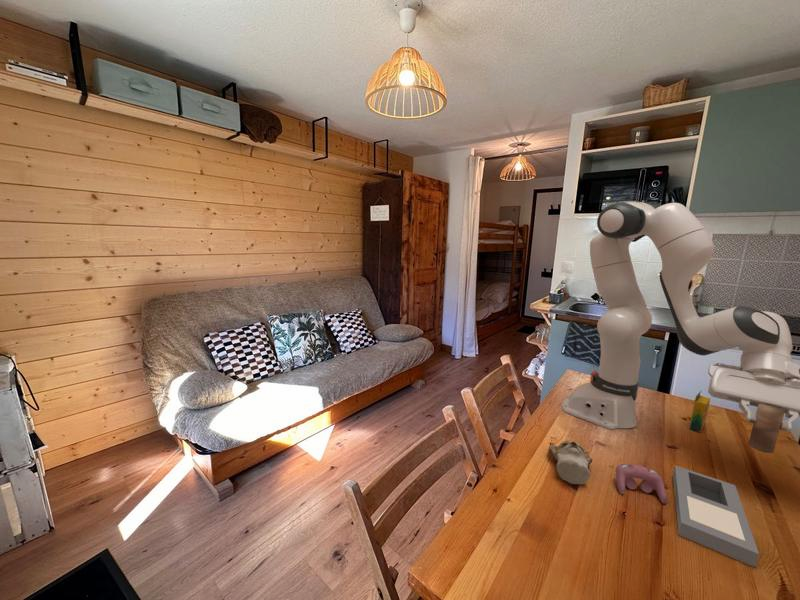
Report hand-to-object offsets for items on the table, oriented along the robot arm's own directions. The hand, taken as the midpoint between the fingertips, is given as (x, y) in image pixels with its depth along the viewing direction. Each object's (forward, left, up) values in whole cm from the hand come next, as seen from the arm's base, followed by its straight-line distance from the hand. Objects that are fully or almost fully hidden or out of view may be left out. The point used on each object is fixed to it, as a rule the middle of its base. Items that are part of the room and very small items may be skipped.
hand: (767, 425), depth 74 cm
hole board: (-9, -13, -19) cm, 25 cm away
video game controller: (-21, -15, -19) cm, 32 cm away
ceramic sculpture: (-36, -17, -19) cm, 44 cm away
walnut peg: (0, +1, -6) cm, 6 cm away
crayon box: (-7, +33, -19) cm, 38 cm away
